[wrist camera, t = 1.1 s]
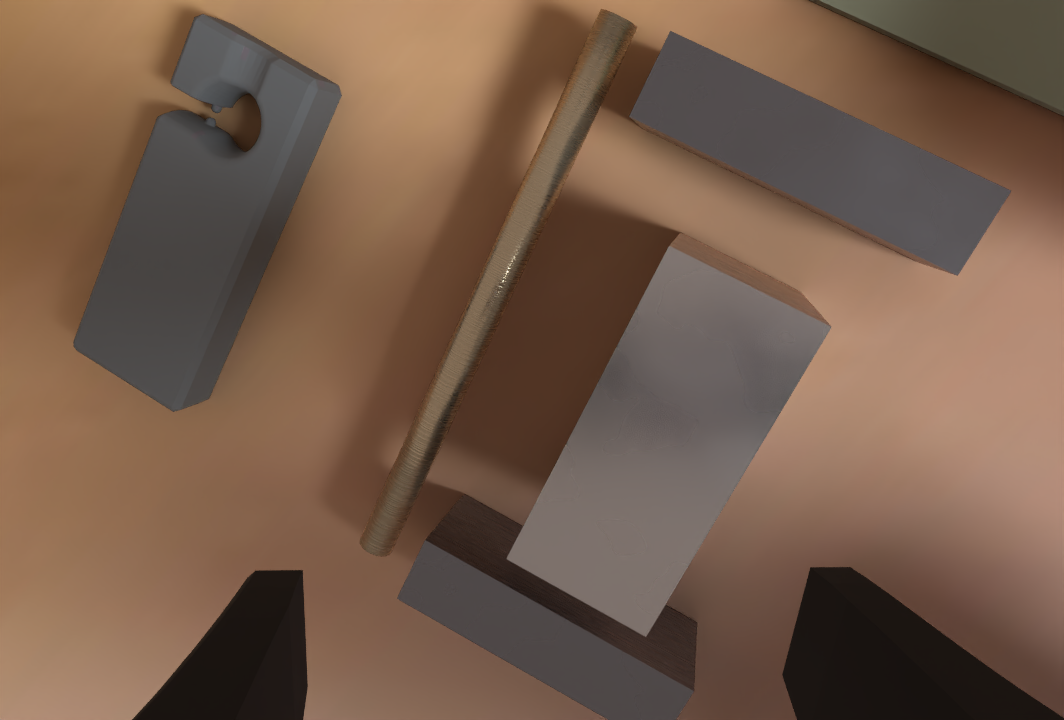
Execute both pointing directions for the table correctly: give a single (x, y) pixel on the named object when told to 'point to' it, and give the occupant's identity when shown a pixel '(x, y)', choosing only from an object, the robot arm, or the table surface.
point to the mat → (978, 38)
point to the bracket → (203, 217)
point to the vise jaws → (663, 109)
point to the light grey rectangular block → (668, 432)
